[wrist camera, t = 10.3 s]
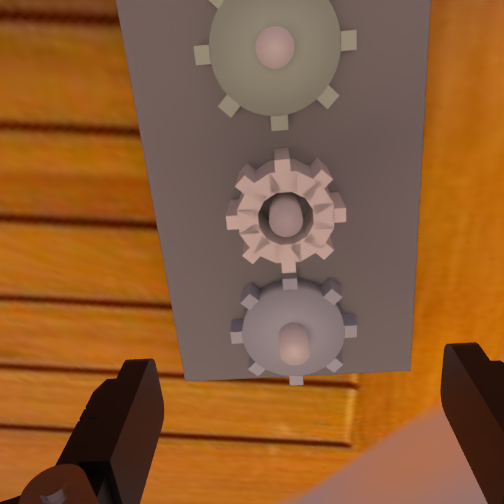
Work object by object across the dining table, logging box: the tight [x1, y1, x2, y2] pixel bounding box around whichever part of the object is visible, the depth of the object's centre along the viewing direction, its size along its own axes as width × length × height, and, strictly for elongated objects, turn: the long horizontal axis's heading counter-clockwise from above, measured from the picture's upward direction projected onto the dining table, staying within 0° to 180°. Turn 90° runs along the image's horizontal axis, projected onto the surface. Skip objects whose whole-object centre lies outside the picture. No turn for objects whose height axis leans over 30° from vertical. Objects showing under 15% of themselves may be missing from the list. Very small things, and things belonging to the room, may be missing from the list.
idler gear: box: [226, 148, 346, 273], centre depth 27 cm, size 6×6×3 cm
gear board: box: [116, 0, 431, 385], centre depth 27 cm, size 26×16×5 cm, turn 5°
